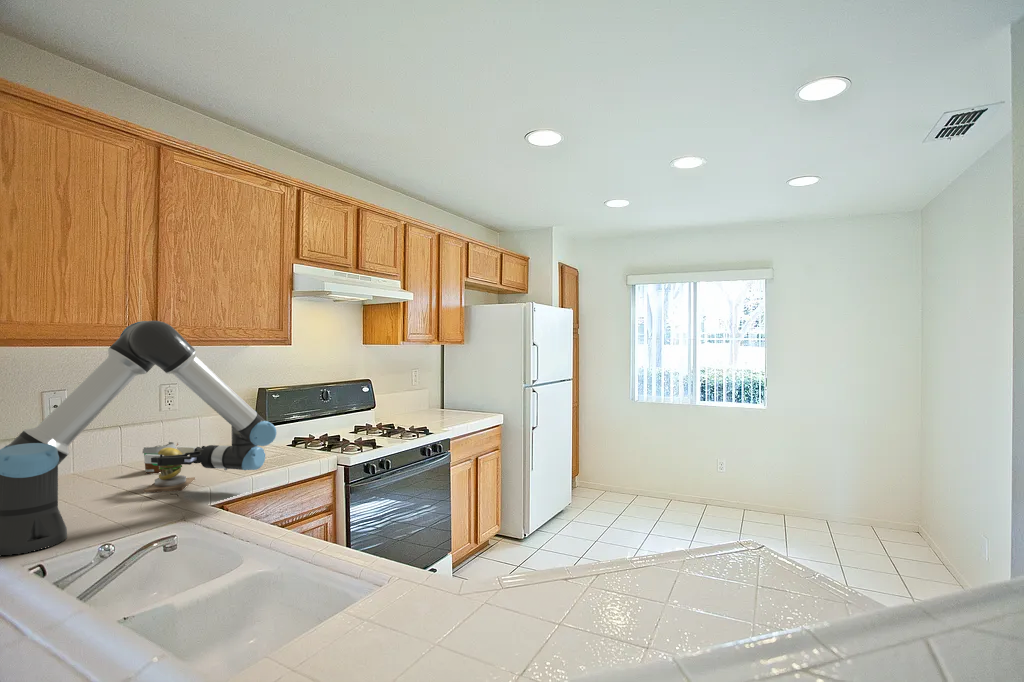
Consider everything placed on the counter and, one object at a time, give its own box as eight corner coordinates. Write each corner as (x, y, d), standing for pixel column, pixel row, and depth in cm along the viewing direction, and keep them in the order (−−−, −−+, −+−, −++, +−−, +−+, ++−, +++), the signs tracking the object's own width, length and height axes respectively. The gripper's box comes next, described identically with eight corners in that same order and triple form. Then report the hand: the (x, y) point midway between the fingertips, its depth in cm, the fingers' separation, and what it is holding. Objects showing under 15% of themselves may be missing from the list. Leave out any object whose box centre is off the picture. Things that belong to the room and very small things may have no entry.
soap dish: (143, 493, 174) (143, 484, 174) (159, 482, 187) (159, 474, 188) (181, 490, 177) (181, 482, 177) (195, 480, 190) (195, 472, 190)
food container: (156, 475, 197) (156, 448, 197) (142, 474, 198) (142, 447, 198) (183, 468, 209) (183, 442, 209) (169, 467, 210) (169, 441, 210)
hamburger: (154, 478, 182) (155, 443, 182) (178, 474, 187) (179, 440, 187) (161, 482, 177) (162, 446, 177) (186, 478, 182) (186, 443, 182)
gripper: (189, 477, 167) (130, 474, 170) (242, 460, 191) (190, 457, 195) (189, 453, 167) (130, 450, 170) (242, 439, 191) (190, 437, 195)
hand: (162, 454), depth 183 cm, fingers open, 13 cm apart
